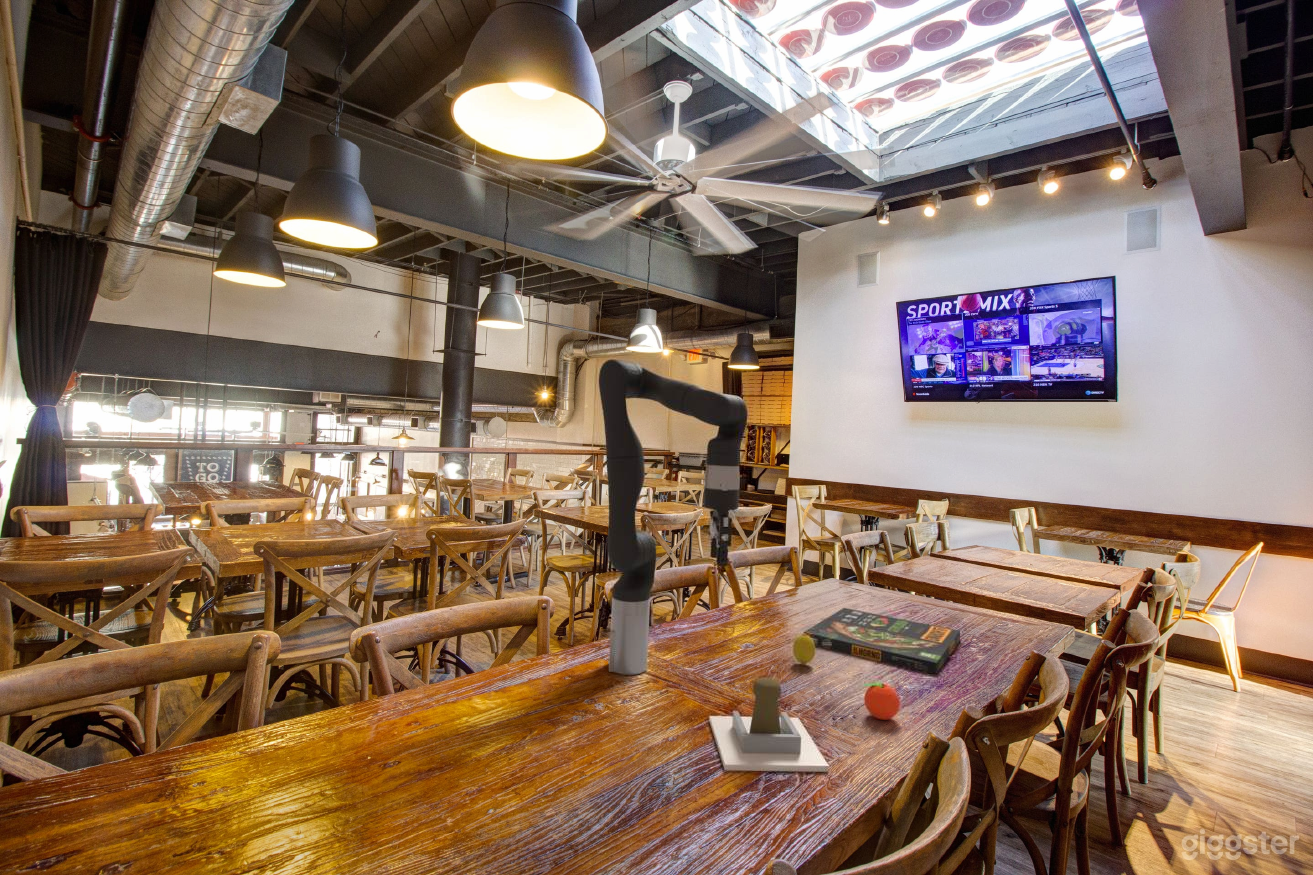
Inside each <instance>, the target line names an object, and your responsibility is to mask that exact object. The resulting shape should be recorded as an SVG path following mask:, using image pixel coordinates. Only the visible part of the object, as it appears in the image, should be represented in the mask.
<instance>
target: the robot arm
mask: <svg viewBox="0 0 1313 875" xmlns="http://www.w3.org/2000/svg"><path fill="white" fill-rule="evenodd" d="M598 387H599V388H598V389H599V396H600V401H601V402H600V403H601V408H602V416H603V425H604V433H605V434H604V436H605V458H606V459H605V460H606V475H607V488H608V489H607V490H608V494H607V495H608V529H607V531H608V532H607V554H608V559H609V561H610V564H611V566H612V567H613V568H614V569H615V570H617V571H618V572H621V575H620V576H619V578H618V580H616V582H615V583H613V586H612V589H611V590H612V593H611V594H612V595H611V597H612V598H611V617H610V619H611V620H610V635H609V655H608V656H609V657H608V672H609V673H616V674H619V675H628V676H629V675H639V674H642V673H644V672H645V671H646V670H647V669H648V651H649V650H648V648H649V625H650V604H651V591H652V589H653V586H654V583H655V574H656V564H657V563H656V562H657V546H656V542H655V540H654V537H653V536H652V535H651V534H650V533H649V532H647V531H646V530H640V529H638V530H637V529H636V527H637V526H636V510H637V504H638V501H639V498H640V495H641V492H642V489H643V485H644V481H645V476H646V475H645V474H646V472H645V469H646V468H645V456H644V455H645V453H644V449H643V446H642V443H641V440H640V439H639V436H638V434H637V432H636V431H635V429H634V427H633V425H632V422H631V420H630V418H629V414H628V409H627V400H628V399H643V400H650V401H654V402H656V403H659V404H660V405H662V406H664V407H665V408H667V409H669V410H671V411H674V412H677V413H679V414H683V415H685V416H689V417H692V418H695V419H696V420H698V421H701V422H702V423H703V422H704V423H706V424H708V425H711V426H715V427H718V430H717V434H716V436H715V437H713V438H711V439H710V440H708V443H707V449H706V467H705V473H704V484H703V485H704V486H703V489H704V490H703V507H704V508H705V509H709V510H710V511H709V531H708V535H709V539H710V553H709V554H710V557H711V558H712V559H716V565H717V566H718V567H726V566H728V559H729V548H730V547H731V546H732V530H733V528H732V526H733V524H732V523H733V518H732V516H729V511H735V510H738V509H739V508H740V507H739V505H740V504H739V501H740V485H741V484H740V483H741V482H740V481H741V480H740V479H741V478H740V477H741V476H740V474H741V473H740V452H741V451H740V450H741V449H740V447H741V444H742V441H743V438H744V434H745V431H746V428H747V423H748V415H749V414H748V408H747V405H746V402H745V401H744V399H743V398H741V397H740V396H738V395H733V394H726V393H721V392H717V391H712V390H708V389H705V388H704V387H703V386H700V385H695V384H692V383H689V382H685V381H682V380H676V379H672V378H668V377H665V376H661V375H659V374H657V373H654V372H652V371H650V370H649V369H647V368H645V367H643V366H641V365H640V364H638V363H635V362H633V361H627V360H622V359H615V358H614V359H607V360H606V361H605V362H604V363H602V365H601V368H600V369H599V373H598ZM723 539H724V540H723Z"/></svg>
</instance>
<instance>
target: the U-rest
mask: <svg viewBox="0 0 1313 875" xmlns="http://www.w3.org/2000/svg"><path fill="white" fill-rule="evenodd" d="M708 718H709V719H708V720H709V721H708V722H709V725H710V727H711V731H712V733H713V737H714V740H715V743H716V744H715V745H716V748H717V750H718V754H719V757H720V759H721V764H722V767H723V769H724V771H738V772H739V771H743V772H745V771H746V772H747V771H749V772H752V771H753V772H755V771H756V772H812V773H814V772H817V773H818V772H821V773H822V772H824V773H829V770H830V765H829V764H828V762H827V761H826V760H825V758H824V756H823V754H822V753H821V751H820V749H819V748H818V746H817V745H816V743H815V742H814V741H813V739H812V737H811V736H810V734H809V733H808V731H807V730H806V728H805V726H804V725H803V724H802V723H803V722H801V720H800V718H799V717H790V716H789V714H788V713H787V711H781V712H780V716H779V719H780V731H781V734H749V732H750V726H751V721H752V716H741V714H740V713H739V711H738V710H732V716H731V715H730V716H727V715H726V716H725V715H724V716H723V715H722V716H721V715H709V717H708Z"/></svg>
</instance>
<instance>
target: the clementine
mask: <svg viewBox="0 0 1313 875" xmlns="http://www.w3.org/2000/svg"><path fill="white" fill-rule="evenodd" d="M867 686H869V687H868V688H867V689H866V691H865V693H864V696H863V698H864V699H863V700H864V705H865V707H866V708H865V709H866V710H867V711H868V713H869V714H870V715H871V716H873V718H876V719H879V720H883V721H888V720H890V719H893V718H894V717H896V715H897V714H898V712H900V711H899V710H900V706H901V703H900V702H901V701H900V699H899V695H898V693H897V692H896V690H894V688H893V687H891V686H890V685H888V684H885V683H883V682H882V683H881V682H879V683H878V682H872V683H871V682H870V683H868V684H865V685H863V686H862V687H861V688H860V690H859V692H861V691H862V689H863V688H865V687H867Z"/></svg>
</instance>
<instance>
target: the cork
mask: <svg viewBox="0 0 1313 875" xmlns="http://www.w3.org/2000/svg"><path fill="white" fill-rule="evenodd" d="M752 692H753V695H754V697H755V698H754V704H753V710H752V716H751V717H752V721H751V726H750V732H749V734H781V731H780V719H779V717H780V711H779V710H780V709H779V699H780V698H781V696H782V687H781V684H780V683H779V681H777V680H776V679H774V678H772V677H759V678H757V679H756V680H755V681H754V682H753V685H752Z"/></svg>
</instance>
